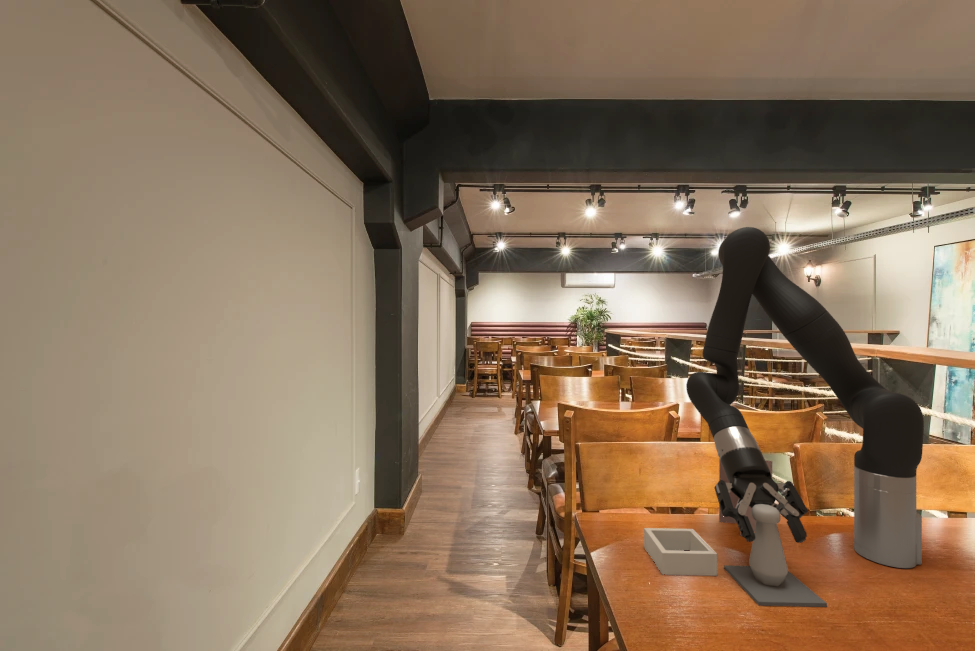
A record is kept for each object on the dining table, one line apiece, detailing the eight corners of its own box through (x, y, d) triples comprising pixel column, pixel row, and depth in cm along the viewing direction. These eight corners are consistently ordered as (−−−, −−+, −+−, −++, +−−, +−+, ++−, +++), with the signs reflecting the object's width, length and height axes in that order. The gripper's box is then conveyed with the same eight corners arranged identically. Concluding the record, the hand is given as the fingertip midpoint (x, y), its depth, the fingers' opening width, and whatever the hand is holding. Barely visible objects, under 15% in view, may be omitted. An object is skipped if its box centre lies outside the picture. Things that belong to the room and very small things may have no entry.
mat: (782, 569, 82) (782, 566, 82) (826, 606, 71) (826, 603, 71) (723, 568, 83) (723, 565, 83) (758, 605, 72) (758, 601, 72)
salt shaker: (776, 570, 80) (774, 500, 80) (795, 589, 75) (792, 513, 75) (743, 570, 81) (740, 500, 81) (759, 589, 75) (756, 513, 75)
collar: (692, 548, 90) (692, 528, 90) (717, 575, 80) (717, 553, 80) (643, 547, 90) (644, 528, 90) (662, 574, 80) (662, 552, 80)
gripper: (710, 445, 85) (743, 532, 73) (785, 446, 84) (830, 533, 73) (697, 464, 90) (727, 547, 78) (768, 464, 90) (807, 549, 78)
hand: (776, 540), depth 76 cm, fingers open, 8 cm apart
